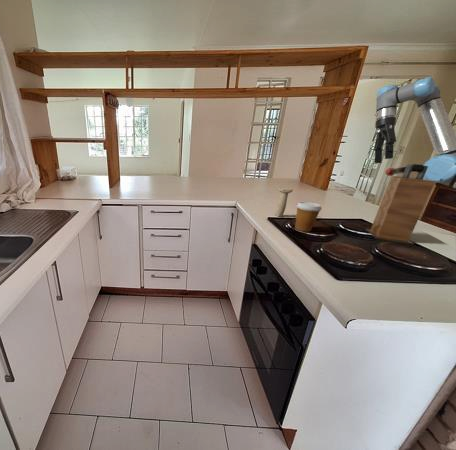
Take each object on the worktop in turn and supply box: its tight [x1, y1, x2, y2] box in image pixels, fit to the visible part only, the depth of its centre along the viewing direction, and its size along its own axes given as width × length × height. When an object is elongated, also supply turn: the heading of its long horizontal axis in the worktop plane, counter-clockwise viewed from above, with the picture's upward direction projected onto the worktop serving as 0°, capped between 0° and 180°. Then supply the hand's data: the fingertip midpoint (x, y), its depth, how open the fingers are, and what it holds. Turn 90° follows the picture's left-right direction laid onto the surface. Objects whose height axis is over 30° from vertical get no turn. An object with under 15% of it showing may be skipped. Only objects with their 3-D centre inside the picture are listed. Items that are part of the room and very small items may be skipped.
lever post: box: [365, 164, 436, 246], centre depth 96 cm, size 12×12×31 cm
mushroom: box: [275, 187, 293, 218], centre depth 124 cm, size 5×6×15 cm
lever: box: [385, 163, 424, 177], centre depth 100 cm, size 22×4×4 cm, turn 157°
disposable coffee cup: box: [294, 201, 322, 233], centre depth 106 cm, size 10×10×12 cm
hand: (383, 161), depth 122 cm, fingers open, 13 cm apart
